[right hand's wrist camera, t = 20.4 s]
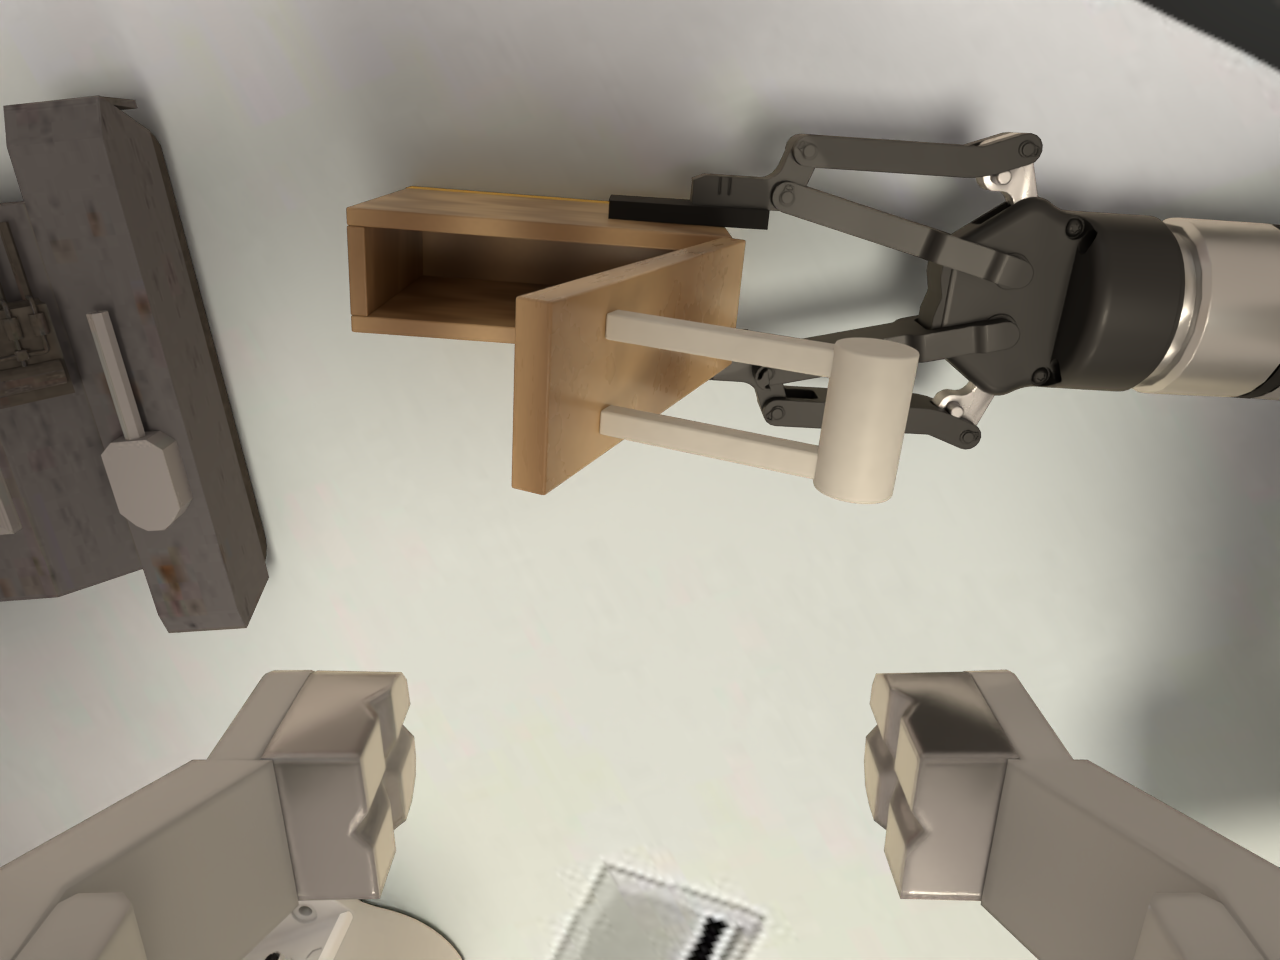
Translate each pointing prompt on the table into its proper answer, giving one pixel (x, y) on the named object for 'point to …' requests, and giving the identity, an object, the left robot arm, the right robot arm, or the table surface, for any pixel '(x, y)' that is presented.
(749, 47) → the table surface
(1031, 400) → the table surface
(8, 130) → the toy
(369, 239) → the chest
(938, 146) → the left robot arm
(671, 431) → the lid
